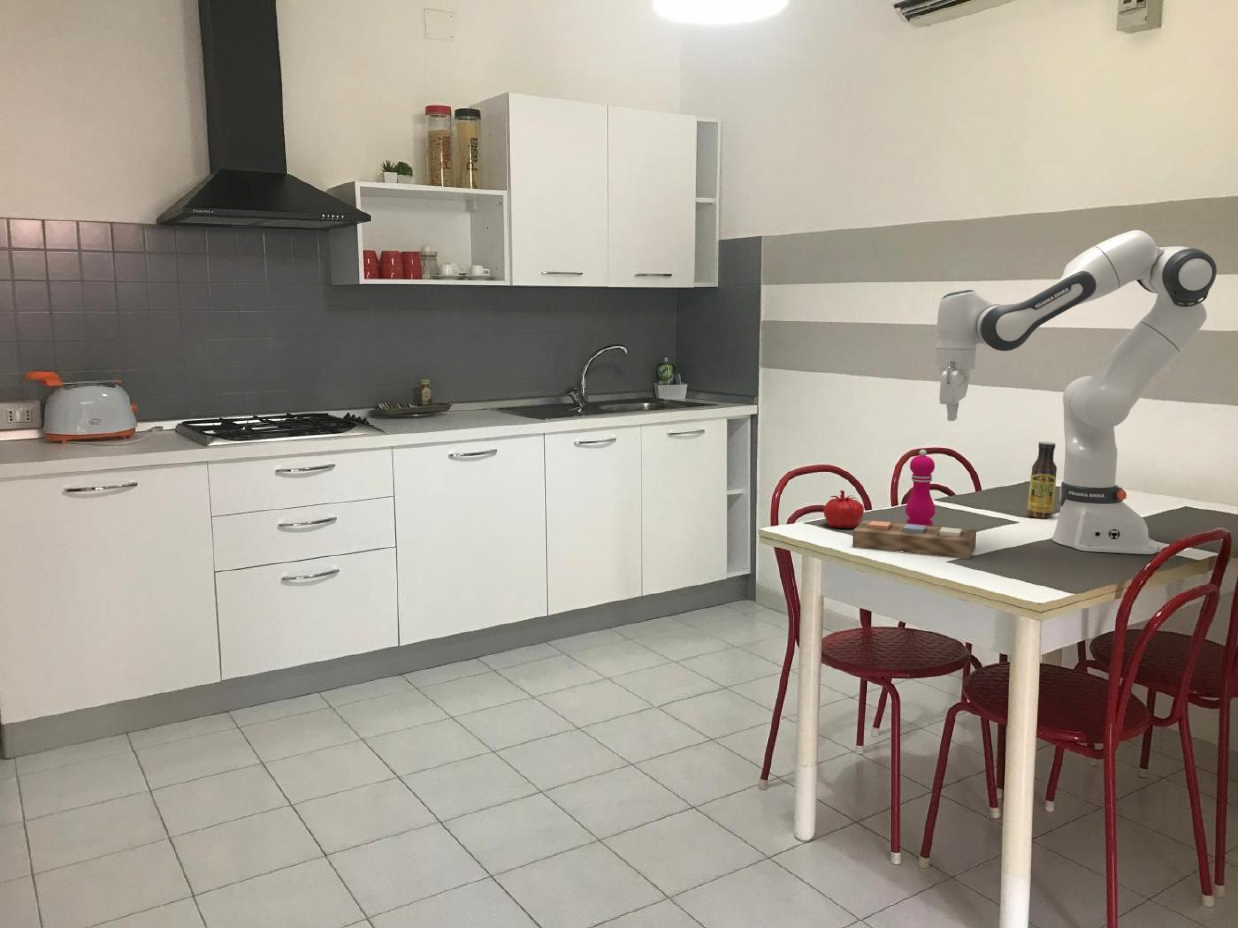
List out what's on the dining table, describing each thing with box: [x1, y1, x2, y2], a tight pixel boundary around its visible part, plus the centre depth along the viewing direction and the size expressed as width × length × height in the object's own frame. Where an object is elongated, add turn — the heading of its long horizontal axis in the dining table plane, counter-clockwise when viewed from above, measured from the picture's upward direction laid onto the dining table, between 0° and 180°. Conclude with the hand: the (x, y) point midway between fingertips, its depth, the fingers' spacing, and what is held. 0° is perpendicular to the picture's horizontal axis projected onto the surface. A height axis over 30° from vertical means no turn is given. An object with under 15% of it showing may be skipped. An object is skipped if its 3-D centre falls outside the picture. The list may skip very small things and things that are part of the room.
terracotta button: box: [869, 520, 892, 530], centre depth 237 cm, size 4×4×4 cm
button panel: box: [852, 519, 977, 560], centre depth 234 cm, size 26×12×4 cm, turn 65°
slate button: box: [903, 523, 926, 534], centre depth 234 cm, size 4×4×4 cm
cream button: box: [939, 526, 963, 537], centre depth 230 cm, size 4×4×4 cm
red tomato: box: [823, 490, 865, 529], centre depth 255 cm, size 10×10×9 cm
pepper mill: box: [905, 449, 936, 526], centre depth 252 cm, size 7×7×20 cm
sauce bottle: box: [1026, 441, 1058, 519], centre depth 264 cm, size 6×6×20 cm
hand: (951, 420), depth 235 cm, fingers closed
